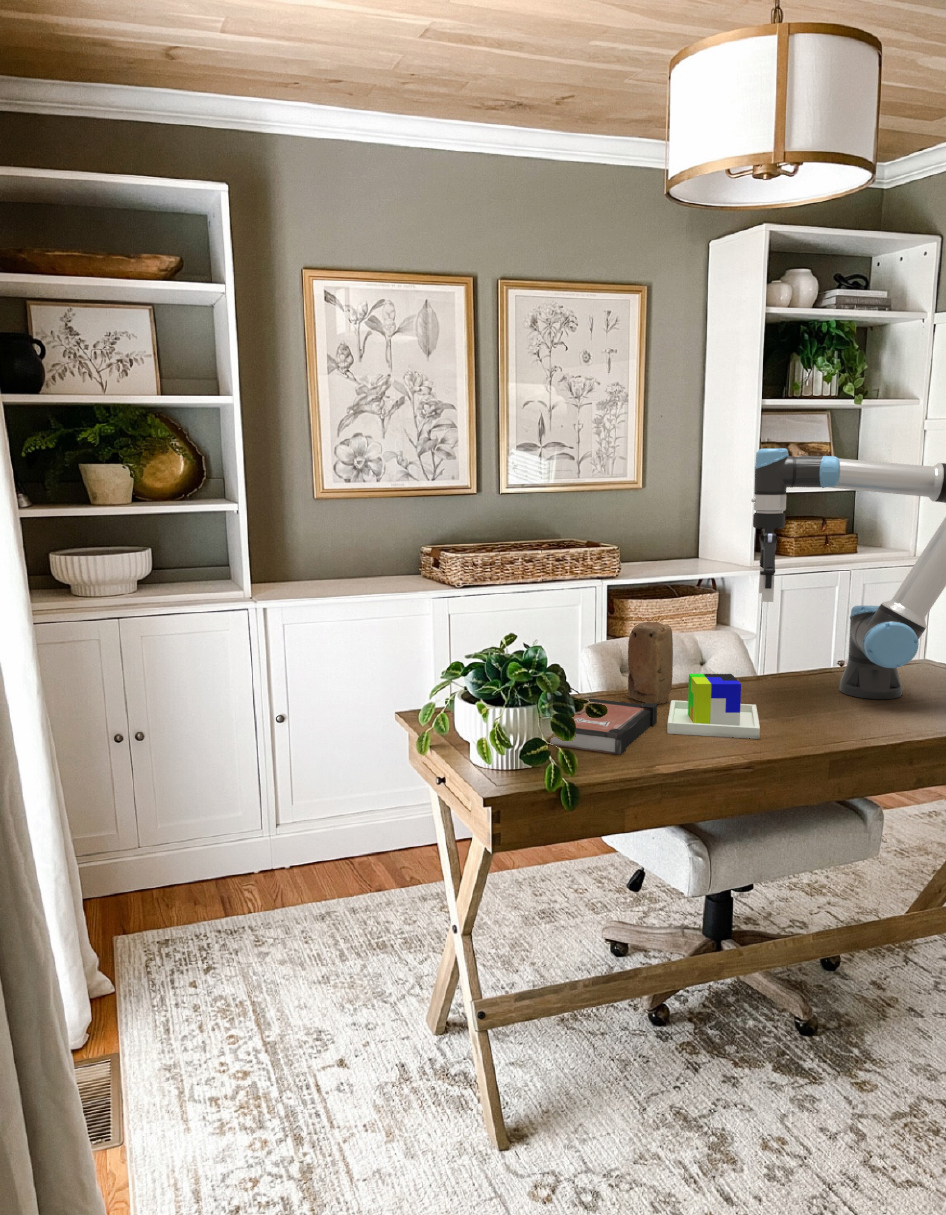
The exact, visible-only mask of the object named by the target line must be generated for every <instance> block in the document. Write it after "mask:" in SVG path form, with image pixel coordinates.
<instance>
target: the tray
mask: <svg viewBox="0 0 946 1215" xmlns="http://www.w3.org/2000/svg"><path fill="white" fill-rule="evenodd" d="M757 709H758V708H757V704H748V703H746V704H745V703H741V704H740V726H734V725H717V724H700V723H693V722H692V720H691V719H690V717H689V716H688V700H673V699H672V700H671V701H670V705H669V711H668V712H669V713H668V718H667V730H666V731H667V734H669V735H670V734H671V735H685V736H701V737H702V736H704V737H718V738H719V737H721V738H732V737H734V738H735V739H749V738H750V740H752V739H753V740H760V739H761V738H760V735H761V734H760V733H761V732H760V730H761V728H760V722H759V721H760V720H759V715H758V714H759V713H758V710H757Z"/></svg>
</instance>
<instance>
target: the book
mask: <svg viewBox="0 0 946 1215" xmlns="http://www.w3.org/2000/svg"><path fill="white" fill-rule="evenodd" d="M588 699H589V701H590V702H594V703H599V704H602V705H605V706H606V707H607V709H608V714H606V715H605V716H603V717H601V718H591V717H589V716H587V715H586V713H585V709H583V710H582V711H581V712H580V713H577V714H575V716H574V721H575V723H576V737H575V739H574V740H573V741H562V740H560V739H558V738H557V737H553V738H551V739H550V738H549V742H550V743H552V744H554V745H557V746H556V747H561V748H562V747H563V748H569V749H577V750H583V751H591V752H597V753H606V754H610V755H619V756H621V755H623V754H624V753H625V752H626V751H627V748H628V747H629V746H630V745H632V744H633V742H635V741H636V740H637V739H638V738H639V737H640V736H641V735H642V734H644V733H645V732H646V731H647V730H648V729H649V728H650V727H654V726H655V725H657V723H658V721H657V720H658V704H651V703H644V702H642V704H641V703H632V702H623V701H617V700H616V701H615V700H607V699H597V698H588ZM554 745H553V746H554Z"/></svg>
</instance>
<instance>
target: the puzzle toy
mask: <svg viewBox="0 0 946 1215" xmlns="http://www.w3.org/2000/svg"><path fill="white" fill-rule="evenodd" d="M687 692H688V696H687V698H688V700H687V701H688V716H689V717H690V719H691V720H692V722H693V723H700V724H717V725H734V726H740V704H742V703H741V701H742V683H741V682H740V681H739V680H738V679H737V677H735V676H734V674H732V673H688V691H687Z"/></svg>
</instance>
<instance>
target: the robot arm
mask: <svg viewBox="0 0 946 1215" xmlns="http://www.w3.org/2000/svg"><path fill="white" fill-rule="evenodd" d="M788 488H821V489H826V488H829V489H830V488H831V489H840V490H850V491H851V490H852V491H862V492H873V493H882V494H883V493H884V494H893V495H894V494H895V495H904V496H905V495H906V496H914V497H915V496H916V497H923V498H924V497H926V498H929V500H930V501H931V502H937V503H945V504H946V462H937V463H936V464H934V466H933V465H932V466H931V465H919V464H908V463H895V462H887V461H886V462H884V461H883V462H882V461H874V460H873V461H872V460H859V459H851V458H850V459H848V458H839V457H837V456H833V455H829V456H828V455H815V456H814V455H805V454H803V455H799V456H791V455H789V450H788V449H787V448H784V447H783V448H760V449H758V450H757V452H756V455H755V465H754V488H753V489H754V492H753V494H754V497H753V498H751V502H752V503H753V510H754V511H756V512H754V513H753V515H752V517H753V518H752V526H753V528H755V529H759V530H760V529H761V530H760V531H761V534H759V550H760V555H759V556H760V557H759V558H760V559H759V582H758V583H759V584H758V594H761V602H763V603H774V595H775V594H774V593H775V592H774V591H775V590H774V589H775V574H776V551H777V543H778V536H777V534H776V533H775V529H779V530H780V529H783V528H785V526H786V514H785V512H784V511H786V510H787V489H788ZM945 588H946V516H944V518H943V520H942V521H941V523H940V525H939V526H938V528H937V529H936V531H935V532H934V534H933V535H932V537H931V538H930V540H929V541H928V543H927V544H926V546H925V548H924V549H923V551H922V552H921V554H920V555H919V557H918V559H917V560H916V561H915V563H914V564H913V566H912V568H911V570H909V573H907V576H905V578H904V580H903V582H902V583H901V585H900V586H899V587H898V589H897V591H896V592H895V593H894V595H893V597H892V598H891V599H890V600H887V601H883V602H881V603H880V605H854V606H853V607H852V608H851V609H850V610H851V612H850V616H849V621H850V623H849V637H848V638H849V644H848V657H847V658H848V660H847V663H846V666H845V669H844V671H843V672H842V676H841V678H840V680H839V691H840V692H841V693H843V694H845V695H848V696H850V697H855V698H861V699H870V700H891V699H897V698H900V697H902V696H903V684H902V680H901V677H900V674H899V670H898V668H901V667H903V666H906V665H907V664H909V663H910V662H911V661H912V660H913V659H914V658H915V657H916V655H917V653H918V650H919V639H920V638H921V637H922V635H924V632H925V630H926V629H927V623H926V617H927V615H929V612H930V611H931V609H932V607H933V606H934V605H935V603H936V602H937V600H938V599H939V598H940V596H941V594H942V593H943V591H944V590H945ZM901 695H902V696H901Z"/></svg>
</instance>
